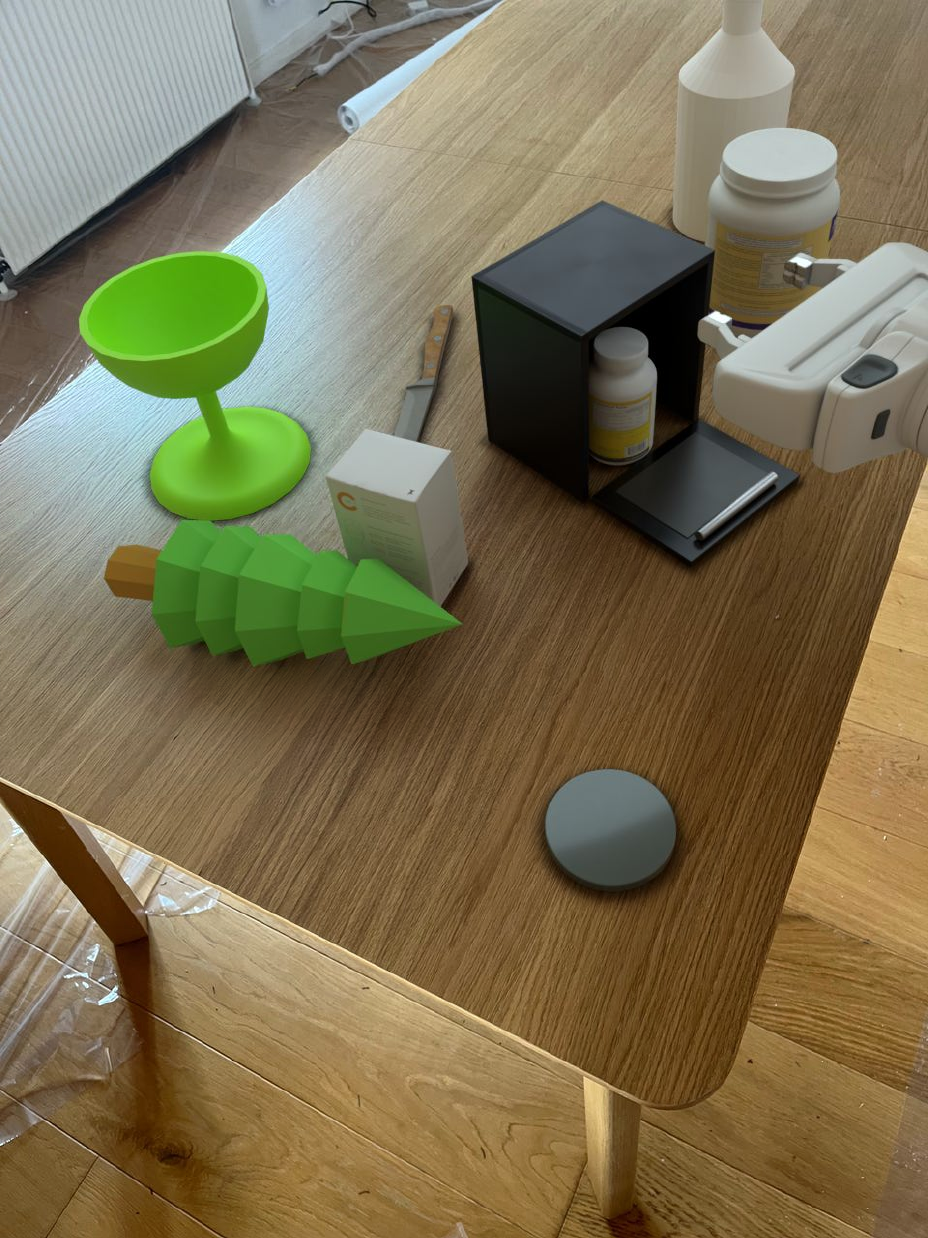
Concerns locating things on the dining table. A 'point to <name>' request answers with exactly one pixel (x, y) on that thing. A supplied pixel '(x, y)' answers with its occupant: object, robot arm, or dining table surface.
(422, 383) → the knife
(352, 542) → the small box
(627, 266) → the oven
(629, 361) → the pill bottle
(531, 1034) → the dining table surface
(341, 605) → the decorative tree
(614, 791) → the trivet
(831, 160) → the supplement tub
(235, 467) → the wineglass
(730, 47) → the bottle
